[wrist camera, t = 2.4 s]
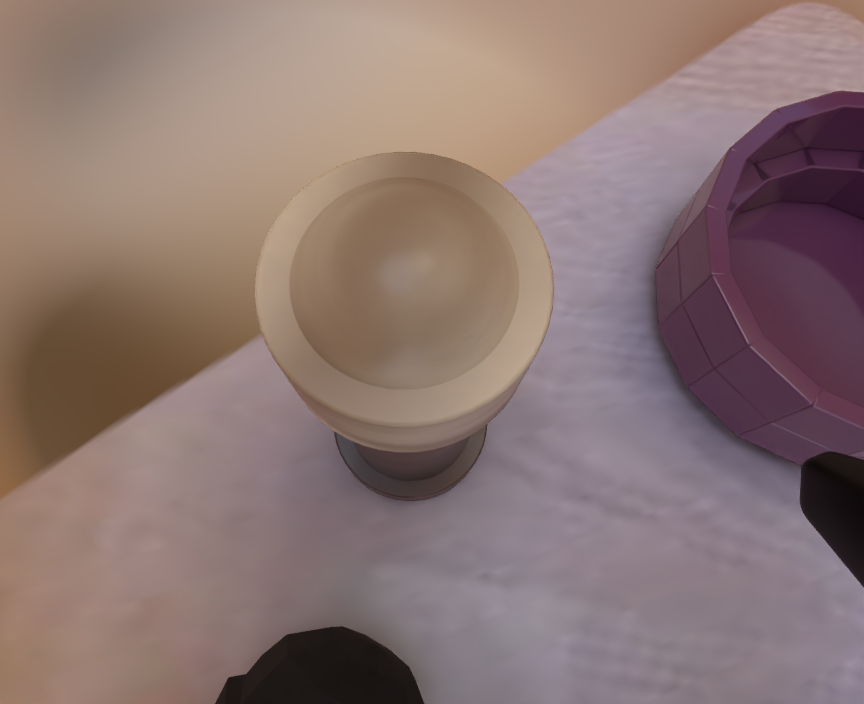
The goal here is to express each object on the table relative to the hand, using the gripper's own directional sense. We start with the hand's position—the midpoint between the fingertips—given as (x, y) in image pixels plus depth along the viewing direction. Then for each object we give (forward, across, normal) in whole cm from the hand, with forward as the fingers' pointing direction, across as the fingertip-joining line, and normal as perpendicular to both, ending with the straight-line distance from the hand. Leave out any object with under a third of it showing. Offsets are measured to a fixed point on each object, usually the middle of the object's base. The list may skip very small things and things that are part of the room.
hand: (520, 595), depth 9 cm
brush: (+12, 0, +5) cm, 13 cm away
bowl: (+11, -14, +5) cm, 19 cm away
